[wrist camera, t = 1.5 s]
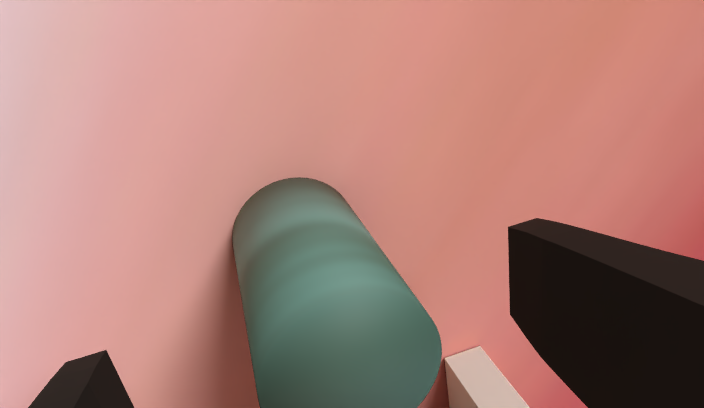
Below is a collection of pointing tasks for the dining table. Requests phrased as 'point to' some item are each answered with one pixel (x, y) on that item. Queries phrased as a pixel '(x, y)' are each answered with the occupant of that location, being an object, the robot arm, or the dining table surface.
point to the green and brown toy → (327, 306)
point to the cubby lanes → (478, 382)
